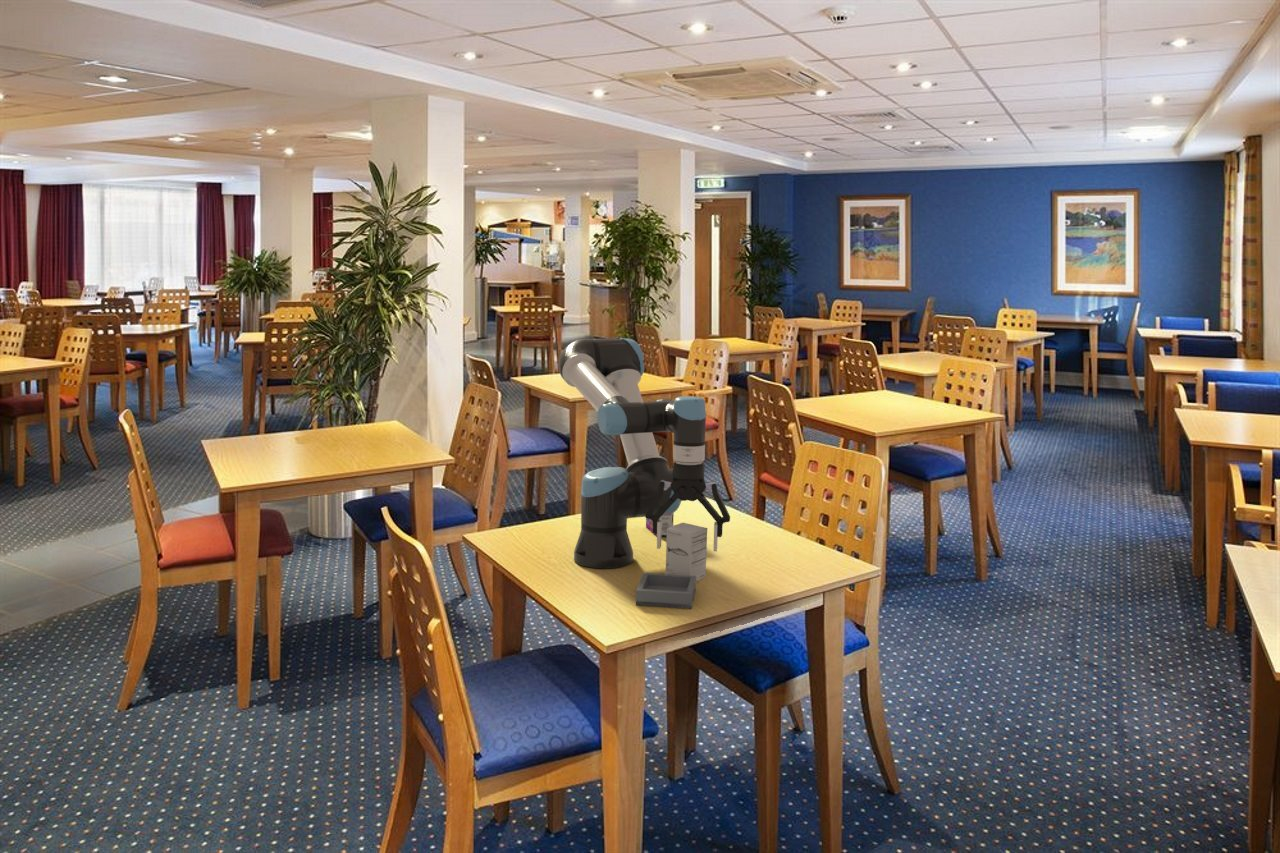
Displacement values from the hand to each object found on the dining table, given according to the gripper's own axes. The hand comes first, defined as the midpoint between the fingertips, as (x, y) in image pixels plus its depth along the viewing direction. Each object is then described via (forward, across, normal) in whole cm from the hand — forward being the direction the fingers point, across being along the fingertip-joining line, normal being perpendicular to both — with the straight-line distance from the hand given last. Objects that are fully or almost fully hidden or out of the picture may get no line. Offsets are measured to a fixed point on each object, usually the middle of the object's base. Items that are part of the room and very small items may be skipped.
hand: (687, 548), depth 227 cm
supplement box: (+8, 0, 0) cm, 8 cm away
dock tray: (+8, -3, -15) cm, 17 cm away
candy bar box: (+7, -11, +39) cm, 42 cm away
